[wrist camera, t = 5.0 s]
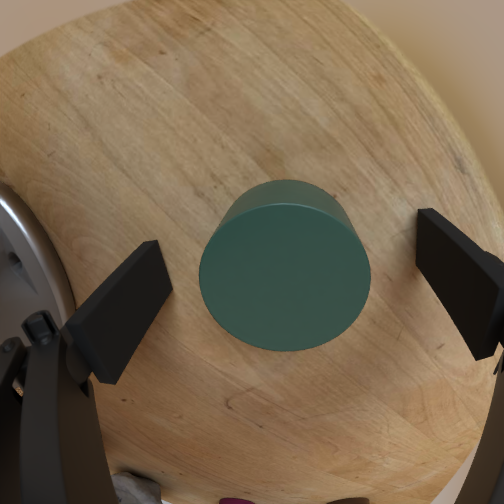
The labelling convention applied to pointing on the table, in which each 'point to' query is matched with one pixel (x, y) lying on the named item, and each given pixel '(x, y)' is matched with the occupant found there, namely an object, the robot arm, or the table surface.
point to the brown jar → (351, 501)
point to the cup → (234, 501)
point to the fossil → (135, 489)
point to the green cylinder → (285, 268)
